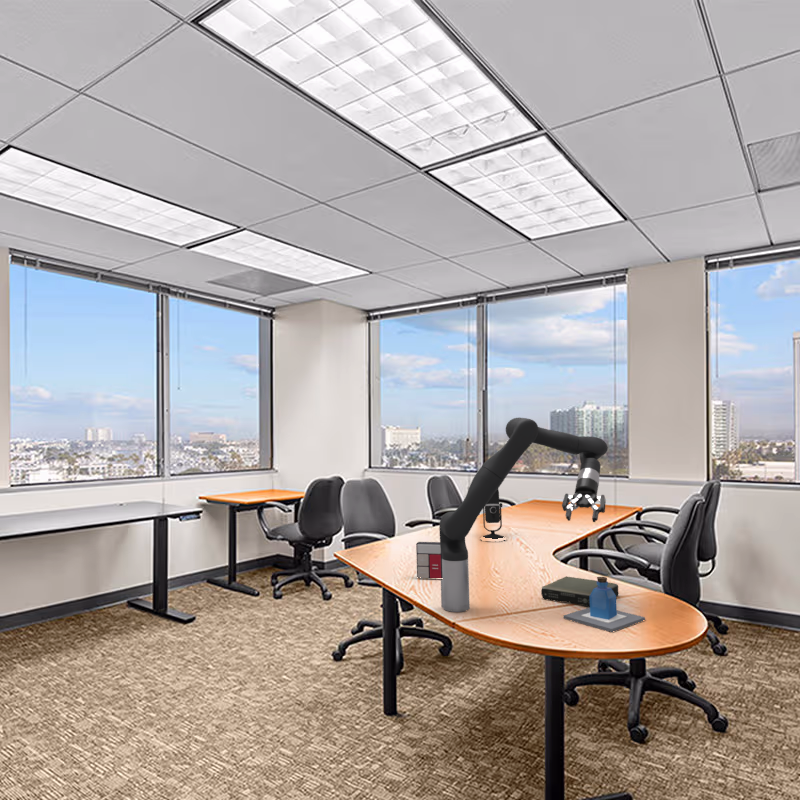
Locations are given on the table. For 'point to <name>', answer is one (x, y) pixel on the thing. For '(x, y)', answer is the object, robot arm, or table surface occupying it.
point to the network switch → (573, 590)
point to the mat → (604, 620)
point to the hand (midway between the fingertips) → (580, 520)
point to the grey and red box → (429, 560)
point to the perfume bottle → (603, 600)
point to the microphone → (493, 515)
